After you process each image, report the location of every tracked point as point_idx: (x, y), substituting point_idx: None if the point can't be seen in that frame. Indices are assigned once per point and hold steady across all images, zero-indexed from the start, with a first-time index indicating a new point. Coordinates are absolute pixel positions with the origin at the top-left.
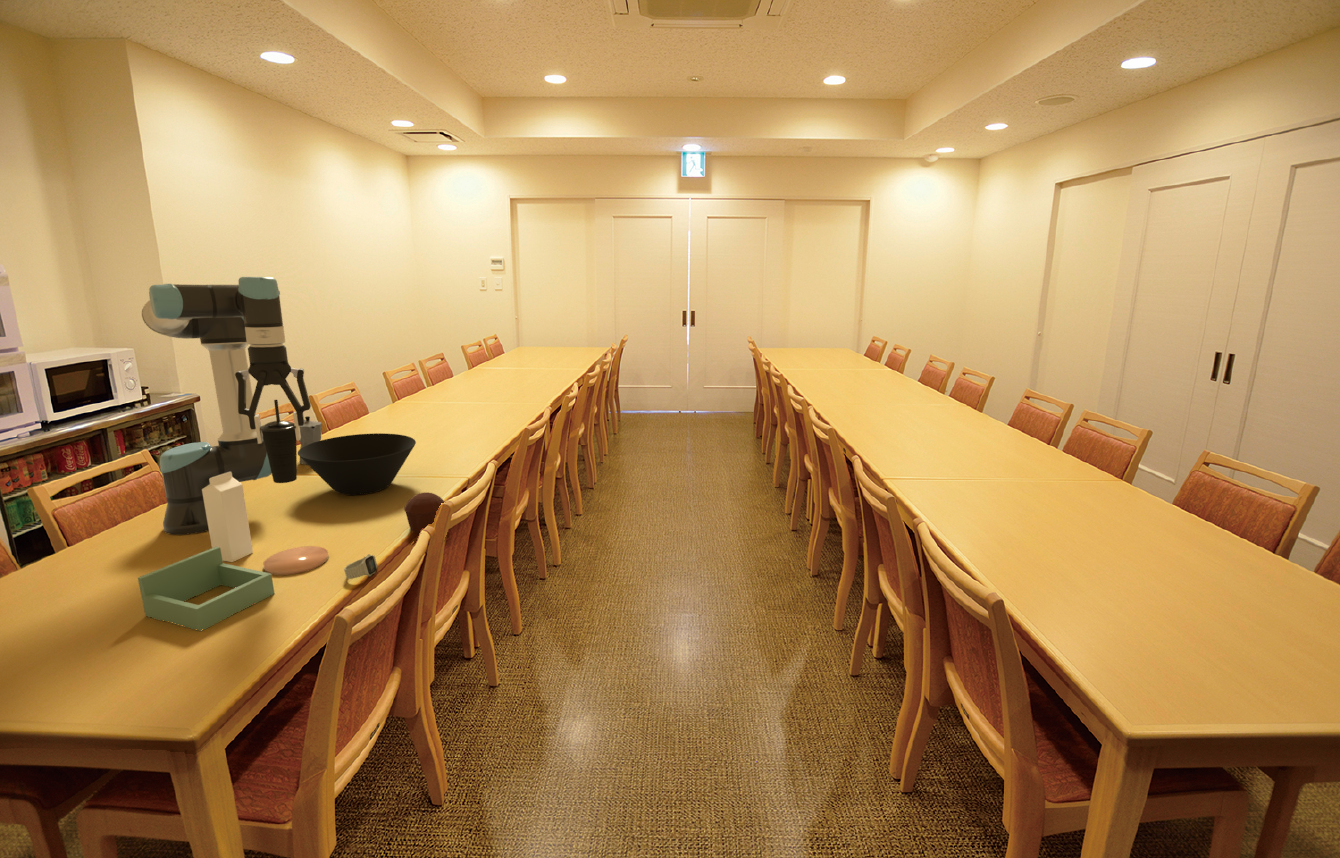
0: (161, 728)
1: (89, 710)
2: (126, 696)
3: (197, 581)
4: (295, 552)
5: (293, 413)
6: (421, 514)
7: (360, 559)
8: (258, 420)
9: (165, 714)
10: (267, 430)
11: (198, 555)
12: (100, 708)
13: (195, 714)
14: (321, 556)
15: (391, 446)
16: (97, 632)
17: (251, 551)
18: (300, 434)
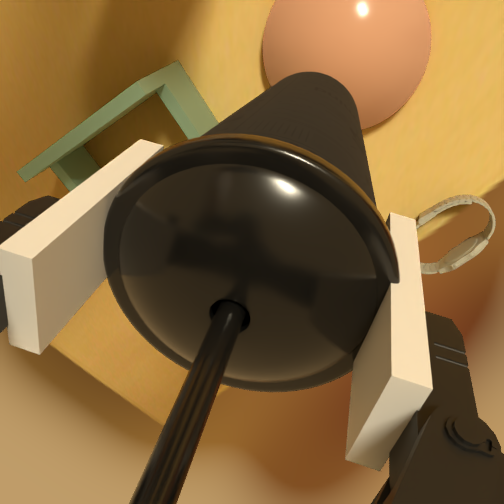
0: (144, 411)
1: (75, 343)
2: (102, 344)
3: (126, 112)
4: (351, 2)
5: (359, 439)
6: None
7: (464, 203)
8: (63, 326)
9: (144, 395)
10: (159, 347)
11: (104, 120)
12: (84, 347)
13: (169, 413)
14: (400, 88)
15: None
16: (15, 152)
17: None
18: (416, 234)
